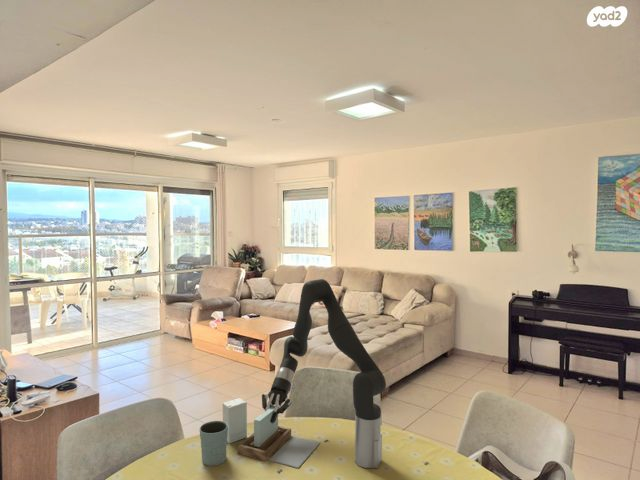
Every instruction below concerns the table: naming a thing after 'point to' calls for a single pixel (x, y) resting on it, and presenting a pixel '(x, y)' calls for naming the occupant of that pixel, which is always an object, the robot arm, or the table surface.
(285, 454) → the grey mat
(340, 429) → the table surface
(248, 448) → the walnut box
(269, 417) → the cover plate
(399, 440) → the table surface
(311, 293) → the robot arm
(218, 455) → the grey-green cup
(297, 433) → the table surface
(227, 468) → the table surface
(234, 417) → the skincare box
